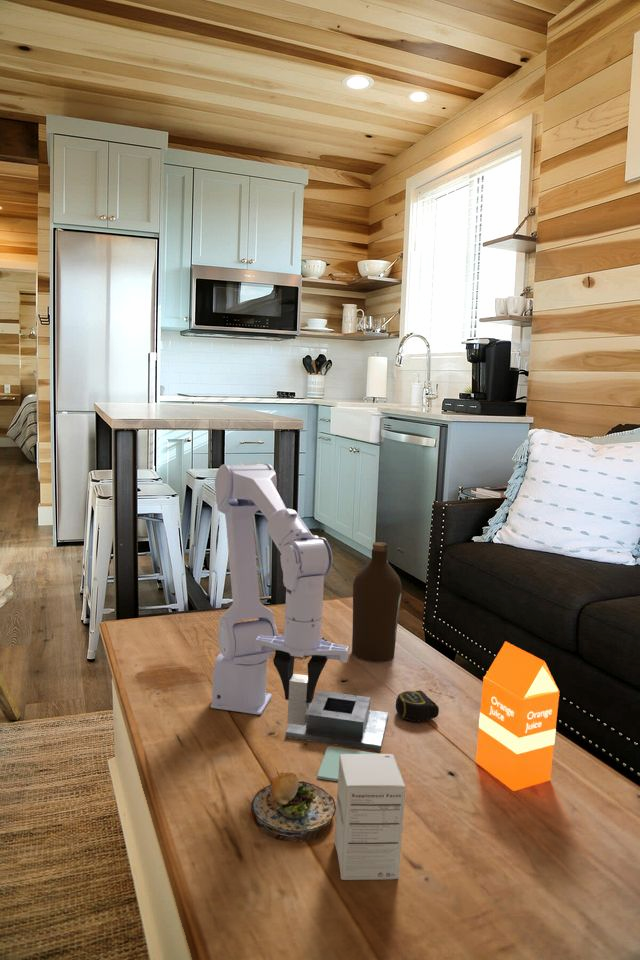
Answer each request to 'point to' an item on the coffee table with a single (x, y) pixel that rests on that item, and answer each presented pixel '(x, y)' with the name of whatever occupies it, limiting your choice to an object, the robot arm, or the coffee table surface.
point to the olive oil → (376, 608)
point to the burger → (291, 809)
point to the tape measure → (416, 706)
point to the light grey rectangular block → (298, 700)
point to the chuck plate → (350, 742)
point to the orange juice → (517, 719)
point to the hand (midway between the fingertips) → (299, 698)
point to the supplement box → (369, 816)
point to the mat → (334, 762)
